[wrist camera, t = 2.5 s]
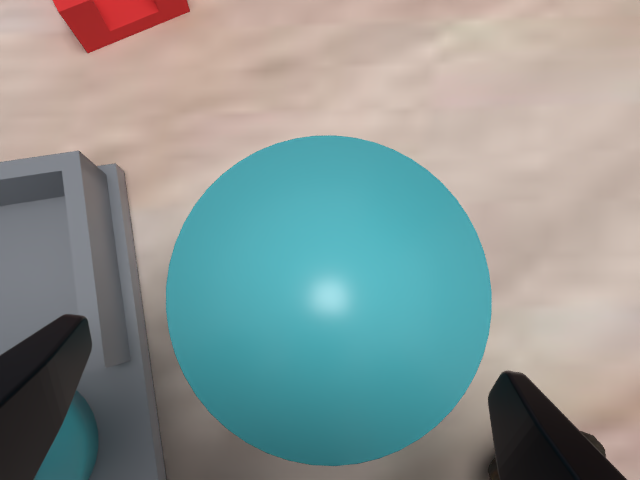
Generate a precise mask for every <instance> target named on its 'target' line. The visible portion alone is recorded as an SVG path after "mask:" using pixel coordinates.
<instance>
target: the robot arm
mask: <svg viewBox="0 0 640 480" xmlns="http://www.w3.org/2000/svg"><path fill="white" fill-rule="evenodd" d="M91 350H92V339H91V333H90V328H89V323H88V319H87V318H86V317H85V316H82V315H75V314H64V315H62V316H60V317H59V318H57V319H55V320H54V321H52V322H51V323H49V324H48V325H46V326H45V327H43V328H41V329H40V330H38V331H37V332H35V333H34V334H32V335H31V336H29V337H28V338H26V339H24V340H23V341H21V342H20V343H18V344H17V345H15V346H14V347H12V348H10V349H9V350H7V351H6V352H4V353H3V354H1V355H0V480H34V478H35V476H36V474H37V472H38V470H39V468H40V466H41V464H42V463H43V461H44V459H45V457H46V455H47V453H48V451H49V449H50V447H51V445H52V444H53V442H54V440H55V438H56V436H57V434H58V432H59V430H60V428H61V426H62V424H63V422H64V419H65V417H66V415H67V412H68V410H69V407H70V405H71V402H72V400H73V397H74V394H75V392H76V389H77V387H78V384H79V382H80V379H81V377H82V374H83V372H84V369H85V366H86V364H87V361H88V359H89V356H90V353H91ZM488 406H489V413H490V420H491V427H492V434H493V441H494V449H495V456H496V462H497V468H498V473H499V478H500V480H627V479H626V478H625V477H624V476H623V475H622V474H621V473H620V472H619V471H618V470H617V469H616V468H615V467H614V466H613V465H612V464H611V463H610V462H609V461H608V460H607V459H606V458H605V457H604V455H603V454H602V453H601V452H600V451H599V450H598V449H597V448H596V447H595V446H594V445H593V444H592V443H591V442H590V441H589V440H588V439H587V438H586V437H585V436H584V435H583V434H582V433H581V432H580V431H579V430H578V429H577V428H576V427H575V426H574V425H573V424H572V423H571V422H570V421H569V420H568V418H567V417H566V416H565V415H564V414H563V413H562V412H561V411H560V410H559V409H558V408H557V407H556V406H555V405H554V404H553V403H552V402H551V401H550V400H549V399H548V398H547V397H546V396H545V395H544V394H543V393H542V392H541V391H540V390H539V389H538V388H537V387H536V386H535V385H534V384H533V382H532V381H531V380H530V379H529V378H528V377H527V376H526V375H524V374H523V373H520V372H513V371H504V372H502V373H501V375H500V376H499V378H498V380H497V381H496V383H495V384H494V386H493V388H492V389H491V391H490V393H489V397H488Z"/></svg>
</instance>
